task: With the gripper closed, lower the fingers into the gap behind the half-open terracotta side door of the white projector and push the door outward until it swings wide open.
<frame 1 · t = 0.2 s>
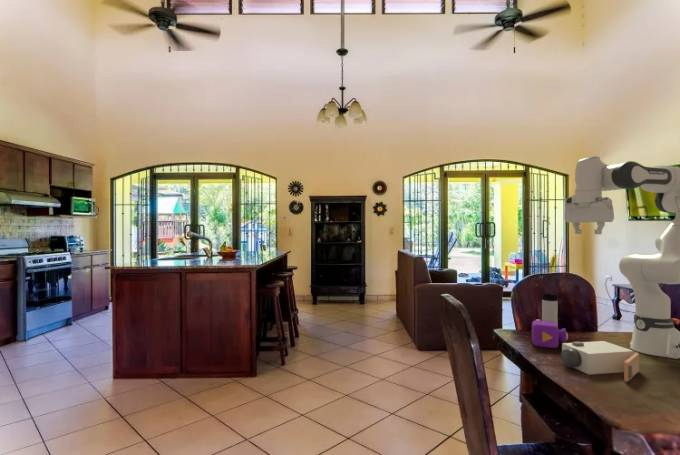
hand: (587, 234, 149), 47 cm above the table, tool pointing down, fingers open, 8 cm apart
white projector: (596, 366, 137), on the table
side door: (632, 366, 128), point 4 cm above the table, hinge at 30.0°
toy camera: (549, 345, 162), on the table
travel mug: (549, 336, 176), on the table
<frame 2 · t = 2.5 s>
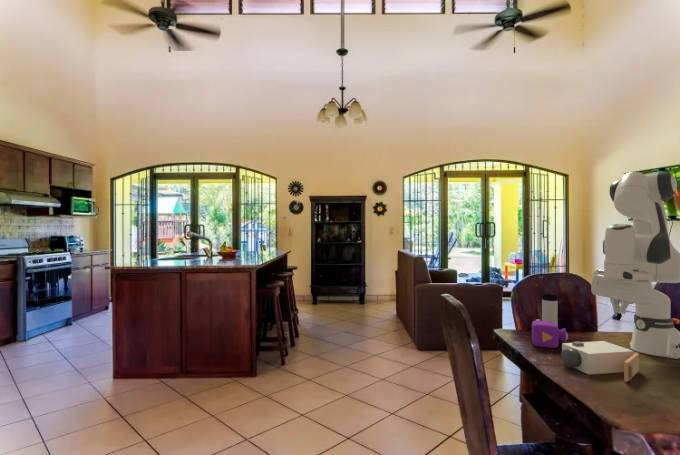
hand: (619, 313, 129), 21 cm above the table, tool pointing down, fingers closed
nothing on the table moved.
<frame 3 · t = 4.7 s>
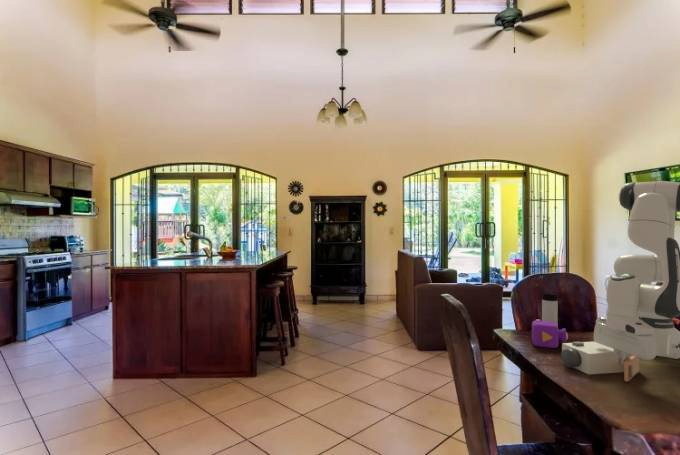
hand: (622, 364, 128), 4 cm above the table, tool pointing down, fingers closed
side door: (632, 366, 128), point 4 cm above the table, hinge at 30.1°, touching gripper
everything else where it was.
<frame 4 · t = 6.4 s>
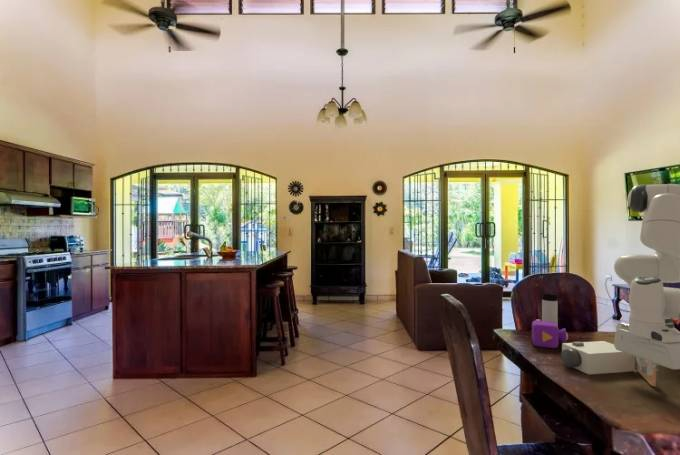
hand: (646, 373, 120), 4 cm above the table, tool pointing down, fingers closed
side door: (645, 368, 126), point 4 cm above the table, hinge at 56.6°, touching gripper
everything else where it was.
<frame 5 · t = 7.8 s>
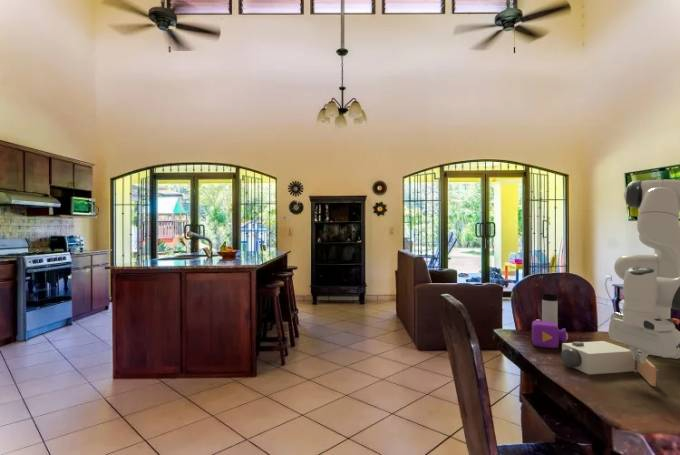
hand: (639, 361, 123), 7 cm above the table, tool pointing down, fingers closed
side door: (645, 368, 126), point 4 cm above the table, hinge at 56.6°
everything else where it was.
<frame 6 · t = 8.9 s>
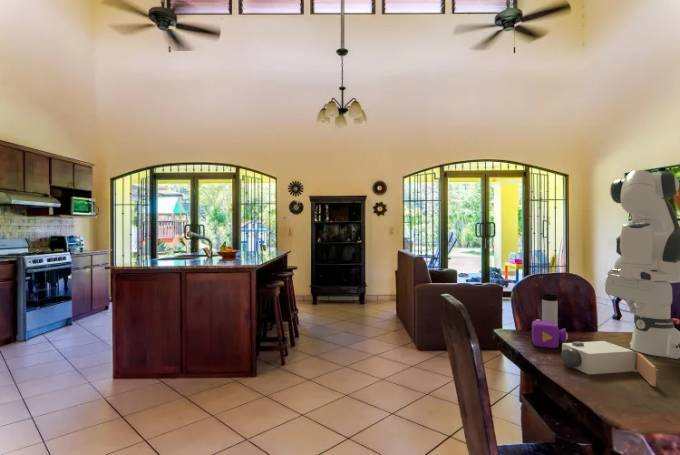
hand: (635, 314, 125), 22 cm above the table, tool pointing down, fingers closed
nothing on the table moved.
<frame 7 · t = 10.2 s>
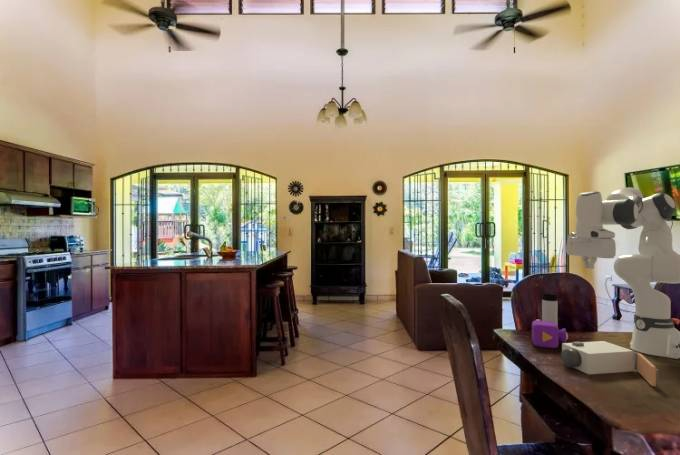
hand: (588, 268, 149), 34 cm above the table, tool pointing down, fingers closed
nothing on the table moved.
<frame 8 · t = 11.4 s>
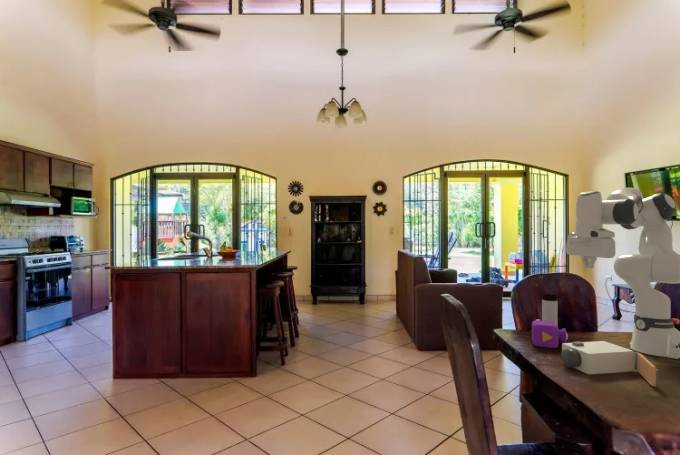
hand: (588, 268, 149), 34 cm above the table, tool pointing down, fingers closed
nothing on the table moved.
at the end: side door at +57° (first picture: +30°); toy camera moved 0.3 cm from its start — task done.
